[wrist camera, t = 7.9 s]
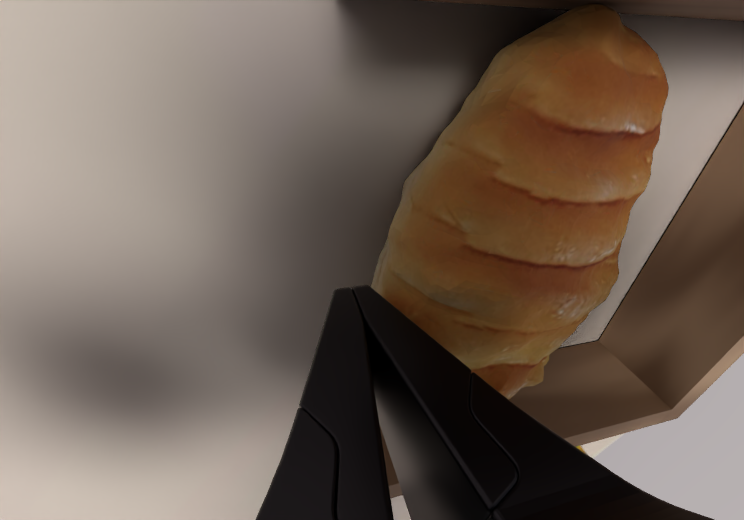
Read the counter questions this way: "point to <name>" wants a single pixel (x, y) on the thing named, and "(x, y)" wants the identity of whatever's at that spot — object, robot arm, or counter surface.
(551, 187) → the pastry
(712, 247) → the box
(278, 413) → the counter surface
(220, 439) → the counter surface
